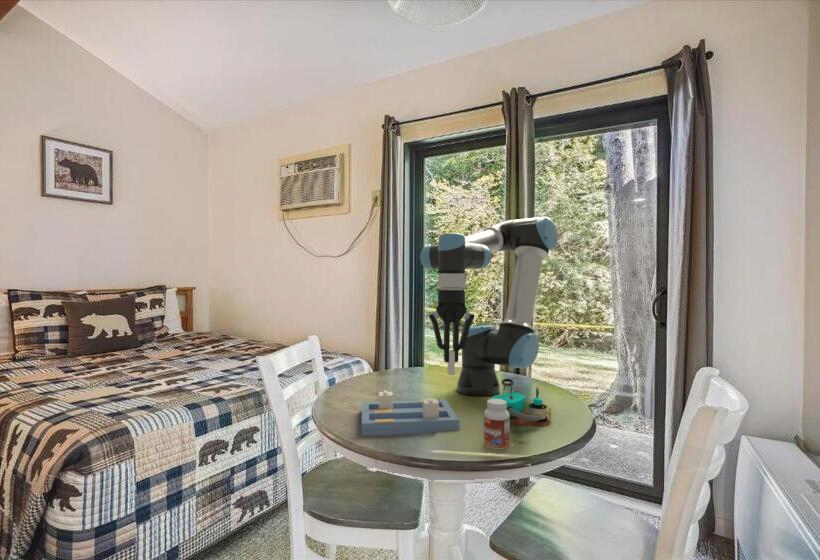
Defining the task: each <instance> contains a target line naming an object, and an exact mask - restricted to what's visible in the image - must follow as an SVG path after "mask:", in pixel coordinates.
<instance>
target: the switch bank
mask: <svg viewBox="0 0 820 560" xmlns="http://www.w3.org/2000/svg"><path fill="white" fill-rule="evenodd" d="M437 401H438V402H439V418H423V402H422V399H416V400H415V399H414V400H393V409H379V401H362V403H361V436H362V435H379V436H395V435H396V436H398V435H419V434H420V435H421V434H422V435H423V434H436V433H437V432H438V431H440V432H442V431H458V430H461V429H460V418H459V417H458V415H457V414H456V412H455V411H454V409H453V408H452V406H451V405H450V404H449V402H448V400H447V399H445V398H444V399H437ZM392 434H393V435H392Z"/></svg>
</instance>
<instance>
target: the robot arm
mask: <svg viewBox="0 0 820 560" xmlns="http://www.w3.org/2000/svg"><path fill="white" fill-rule="evenodd" d="M557 245H558V232H557V228H556V225H555V223H554V222H553V220H552V219H551V218H549V217H547V216H536V217H530V218H527V217H526V218H520V219H518V218H517V219H510V220H505V221H503V222H499V223H497V224H494V225H491V226H488V227H485V228H484V229H483V230H482V231H481V232H477V233H474V234H471V235H468V236H466V235H465V234H463V233H460V232H447V233H441V234H440V235H439V236H438V244H436V245H428V246H425V247H423V248H422V249H421V252H420V256H419V259H420V263H421V265H422V266H423V267H424V269H427V270H437V272H438V273H437V275H438V276H437V285H438V286H437V287H438V289H439V290H438V291H437V306H436V309H435V310H434V311H433V312H432V313H429V314H428V316H427V317H428V318H429V320H430V321H431V325H432V328H433V332H434V337H435V341H436V345H437V347H438V348H439V349H440V350H443V361H444V363H447V374H448V375H449V376H455V375H456V374H455V373H456V370H455V367H456V366H455V365H456V363H458V362H459V351H460V350H461V371H460V374H459V377H458V379H457V383H456V391H457V392H458V393H460V394H463V395H467V396H473V397H490V396H496V395H497V394H498V395H499V393H500V392H501V384H500V382H499V379H498V375H497V372H496V366H497V365H498V366H505V367H511V368H513V369H518V368H519V369H527V368H529V367H531V366H532V365H533V364H534V363H535V361H536V359H537V357H538V353H539V350H540V349H539V348H540V344H539V343H540V339H539V337H538V336H537V334H535V329H534V328H533V326H532V320H533V316H534V315H533V314H534V308H535V302H536V298H537V293H538V288H539V287H538V286H539V281H540V275H541V270H542V264H543V261H544V260H545V259H547V258H548V257H549V251H552V250H554V249H555V248H556V247H557ZM498 252H514V254H515V255H516V256H517V258H516V264H515V269H514V273H513V279H512V282H511V283H512V284H511V288H510V294H509V298H508V304H507V309H506V313H505V319H504V320H503V321H501V322H500V323H499V327H498V329H496V327H495V326H496V325H494V324H489V325H488V324H486V325H477V326H476V325H474V326H471V324H472V322H473V320H474V319H475V314H474V313H471V312H469V311H468V310H467V307H466V291H465V290H464V289H465V288H466V269H467V270H470V269H472V270H473V269H474V270H480V269H481V270H482V269H485V268H487V267H488V266H489V264H490V263H491V261H492V253H498ZM438 316H439V317H440V320H442V321H443V339H442V336H441V331H440V327H439V322H438V319H439V317H438ZM463 317H464V319H465V320H464V323H463V326H462V331H461V335H460V321H461V320H462V319H463ZM451 323H452V349H450V348H451V347H450V343H451V342H450V334H451V333H450V331H451V330H450V327H451ZM459 337H460V338H459Z"/></svg>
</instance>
